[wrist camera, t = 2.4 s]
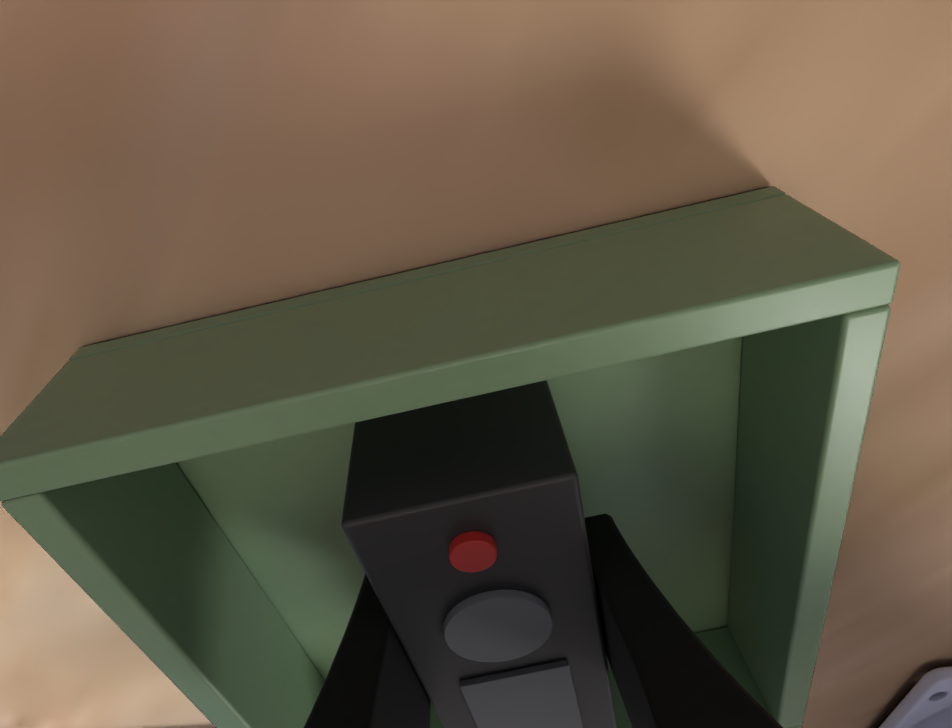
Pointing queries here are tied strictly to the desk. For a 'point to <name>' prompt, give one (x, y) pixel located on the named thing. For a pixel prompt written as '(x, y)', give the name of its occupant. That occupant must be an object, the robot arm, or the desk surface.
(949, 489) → the desk surface
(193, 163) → the desk surface
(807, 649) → the caddy
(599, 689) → the remote
